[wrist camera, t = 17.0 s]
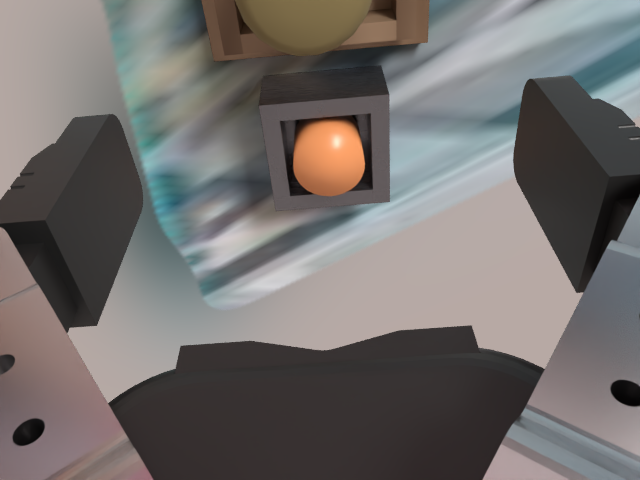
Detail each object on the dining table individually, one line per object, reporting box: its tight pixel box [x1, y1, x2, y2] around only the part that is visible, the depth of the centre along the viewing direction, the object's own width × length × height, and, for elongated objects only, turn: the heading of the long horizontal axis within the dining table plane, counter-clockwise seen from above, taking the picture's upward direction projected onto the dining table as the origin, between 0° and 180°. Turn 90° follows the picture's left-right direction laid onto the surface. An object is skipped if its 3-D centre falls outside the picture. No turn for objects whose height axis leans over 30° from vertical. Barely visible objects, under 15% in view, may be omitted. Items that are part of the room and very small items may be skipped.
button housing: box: [259, 66, 390, 211], centre depth 34 cm, size 7×7×4 cm
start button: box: [293, 115, 365, 196], centre depth 33 cm, size 4×4×3 cm
